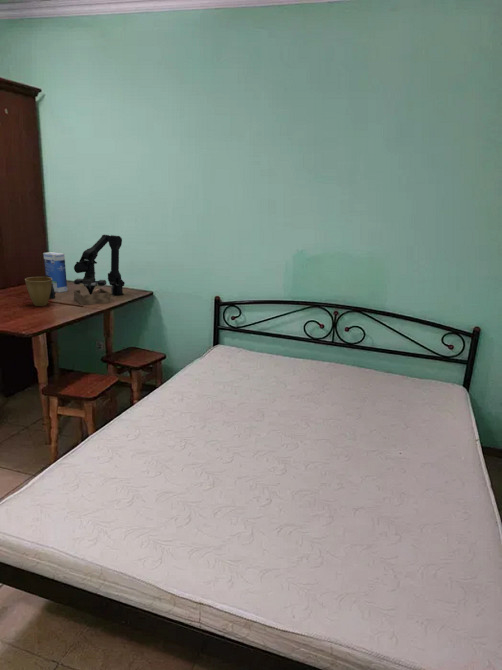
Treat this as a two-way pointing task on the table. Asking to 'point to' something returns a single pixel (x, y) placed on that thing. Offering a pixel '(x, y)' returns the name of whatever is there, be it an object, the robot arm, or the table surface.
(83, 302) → the crate
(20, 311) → the table surface
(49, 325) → the table surface
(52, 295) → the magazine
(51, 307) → the table surface
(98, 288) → the door
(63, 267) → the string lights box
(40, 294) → the plant pot
